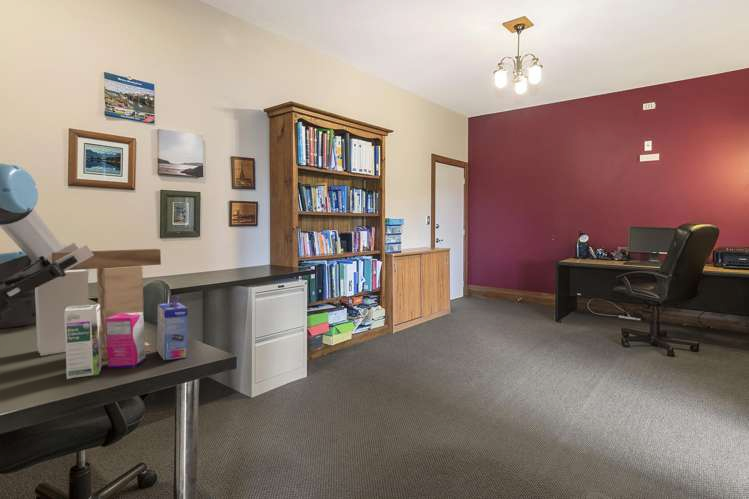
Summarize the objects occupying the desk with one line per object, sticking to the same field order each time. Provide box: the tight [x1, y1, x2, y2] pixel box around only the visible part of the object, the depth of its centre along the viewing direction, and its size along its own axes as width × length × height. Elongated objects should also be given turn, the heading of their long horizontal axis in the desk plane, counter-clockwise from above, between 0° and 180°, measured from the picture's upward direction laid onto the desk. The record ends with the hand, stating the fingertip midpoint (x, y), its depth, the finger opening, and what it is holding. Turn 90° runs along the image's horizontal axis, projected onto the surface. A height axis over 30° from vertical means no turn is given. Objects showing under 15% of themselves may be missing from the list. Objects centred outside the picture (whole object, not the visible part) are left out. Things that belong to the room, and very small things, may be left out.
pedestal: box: [35, 269, 90, 357], centre depth 104 cm, size 6×10×20 cm, turn 136°
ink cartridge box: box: [156, 294, 189, 361], centre depth 100 cm, size 10×6×14 cm, turn 37°
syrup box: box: [64, 303, 103, 380], centre depth 87 cm, size 6×6×14 cm
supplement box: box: [105, 312, 147, 369], centre depth 93 cm, size 6×6×12 cm
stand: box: [96, 266, 151, 361], centre depth 103 cm, size 10×10×22 cm
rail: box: [52, 248, 162, 270], centre depth 100 cm, size 4×22×4 cm, turn 136°
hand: (83, 248), depth 97 cm, fingers open, 12 cm apart
